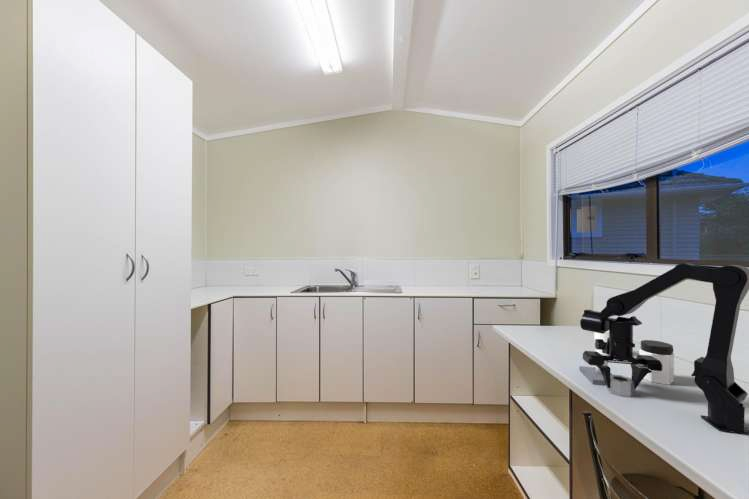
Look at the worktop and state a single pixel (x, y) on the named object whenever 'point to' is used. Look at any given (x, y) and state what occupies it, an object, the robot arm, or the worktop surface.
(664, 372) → the jar
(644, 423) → the worktop surface
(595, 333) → the white cup
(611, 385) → the hub ring
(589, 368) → the block
